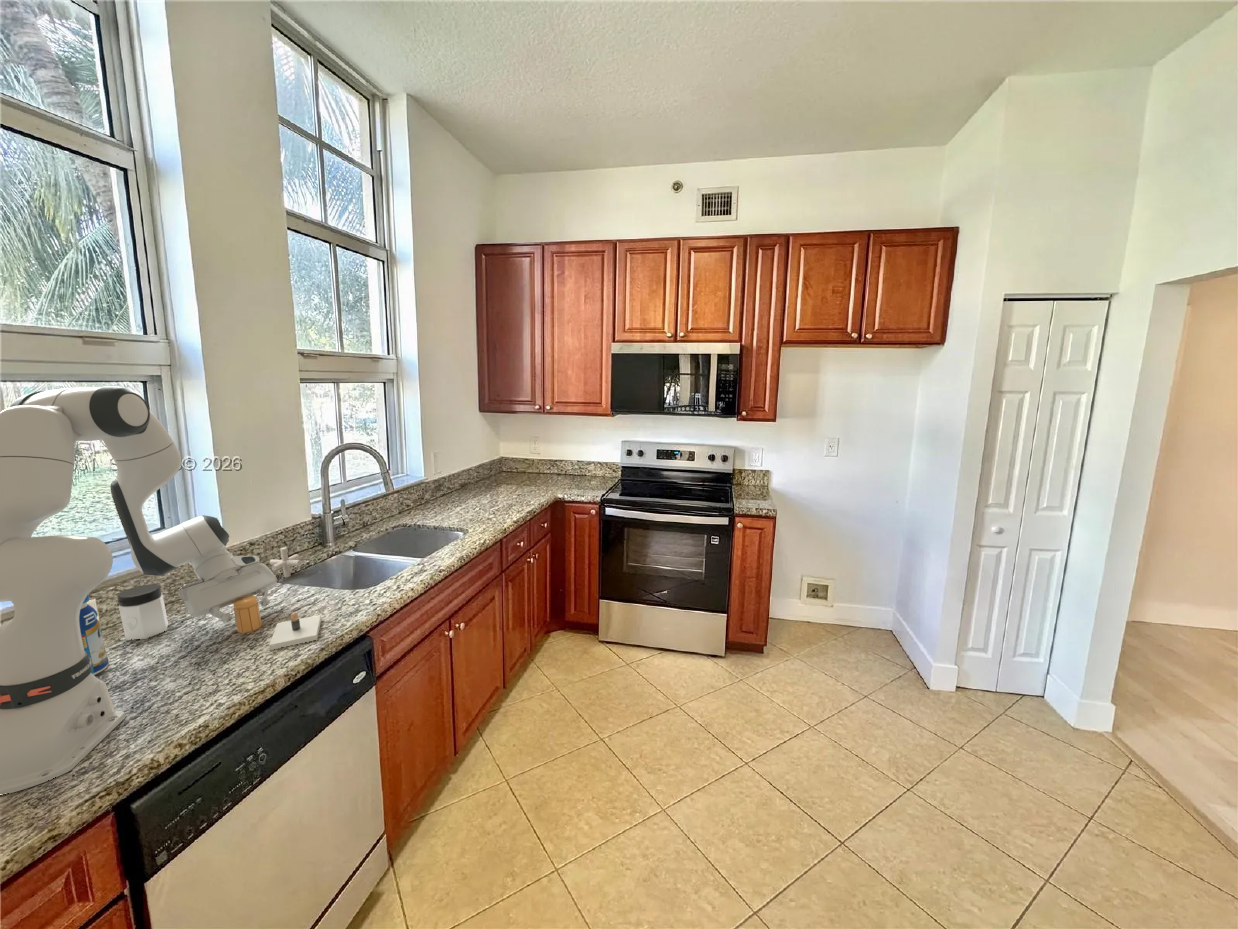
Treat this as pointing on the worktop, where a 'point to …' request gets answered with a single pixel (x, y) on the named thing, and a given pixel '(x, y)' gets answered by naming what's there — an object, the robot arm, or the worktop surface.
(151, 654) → the worktop surface
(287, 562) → the pipe connector
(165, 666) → the worktop surface
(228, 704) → the worktop surface
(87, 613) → the beverage bottle
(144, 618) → the jar
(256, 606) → the fluted domed cylinder
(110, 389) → the robot arm
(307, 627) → the board
